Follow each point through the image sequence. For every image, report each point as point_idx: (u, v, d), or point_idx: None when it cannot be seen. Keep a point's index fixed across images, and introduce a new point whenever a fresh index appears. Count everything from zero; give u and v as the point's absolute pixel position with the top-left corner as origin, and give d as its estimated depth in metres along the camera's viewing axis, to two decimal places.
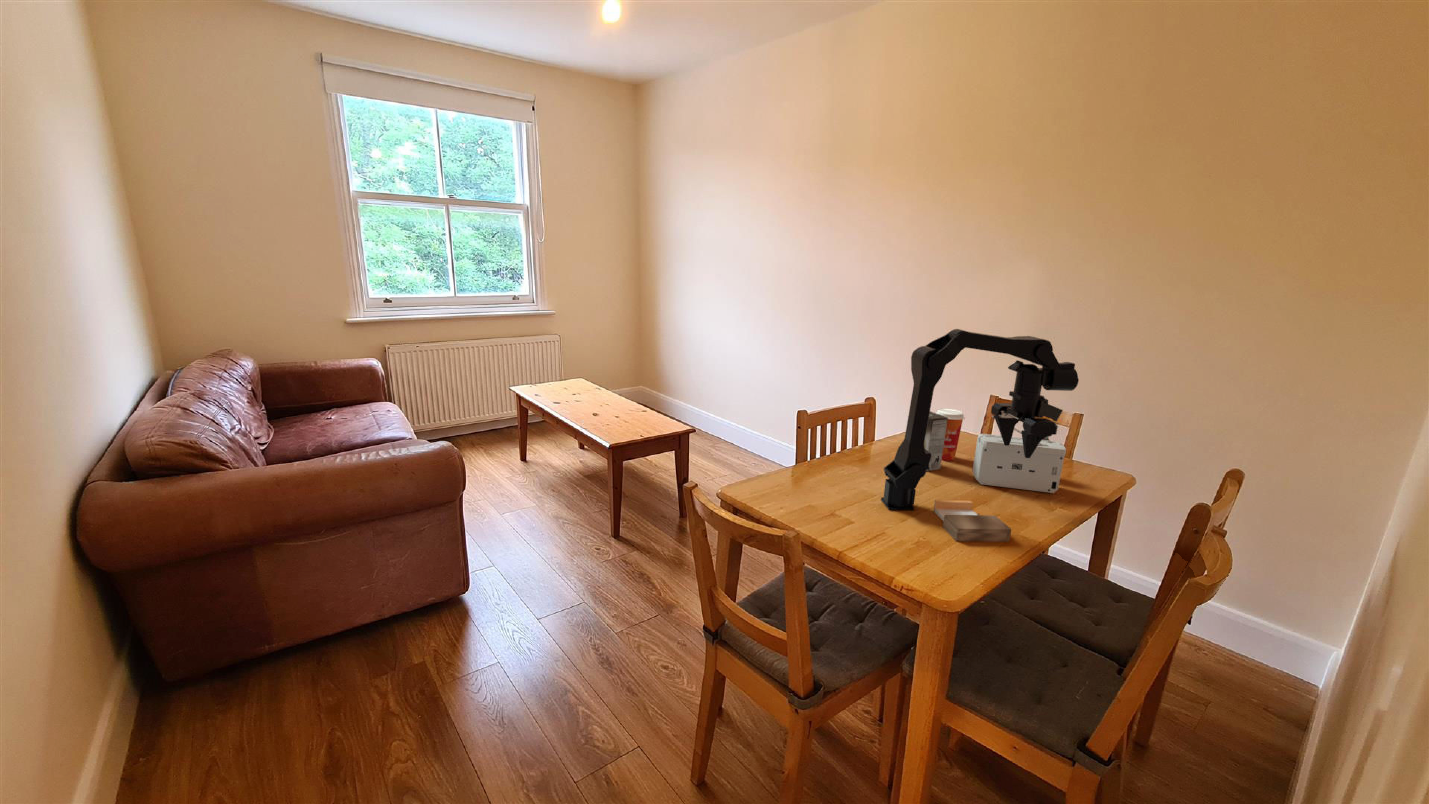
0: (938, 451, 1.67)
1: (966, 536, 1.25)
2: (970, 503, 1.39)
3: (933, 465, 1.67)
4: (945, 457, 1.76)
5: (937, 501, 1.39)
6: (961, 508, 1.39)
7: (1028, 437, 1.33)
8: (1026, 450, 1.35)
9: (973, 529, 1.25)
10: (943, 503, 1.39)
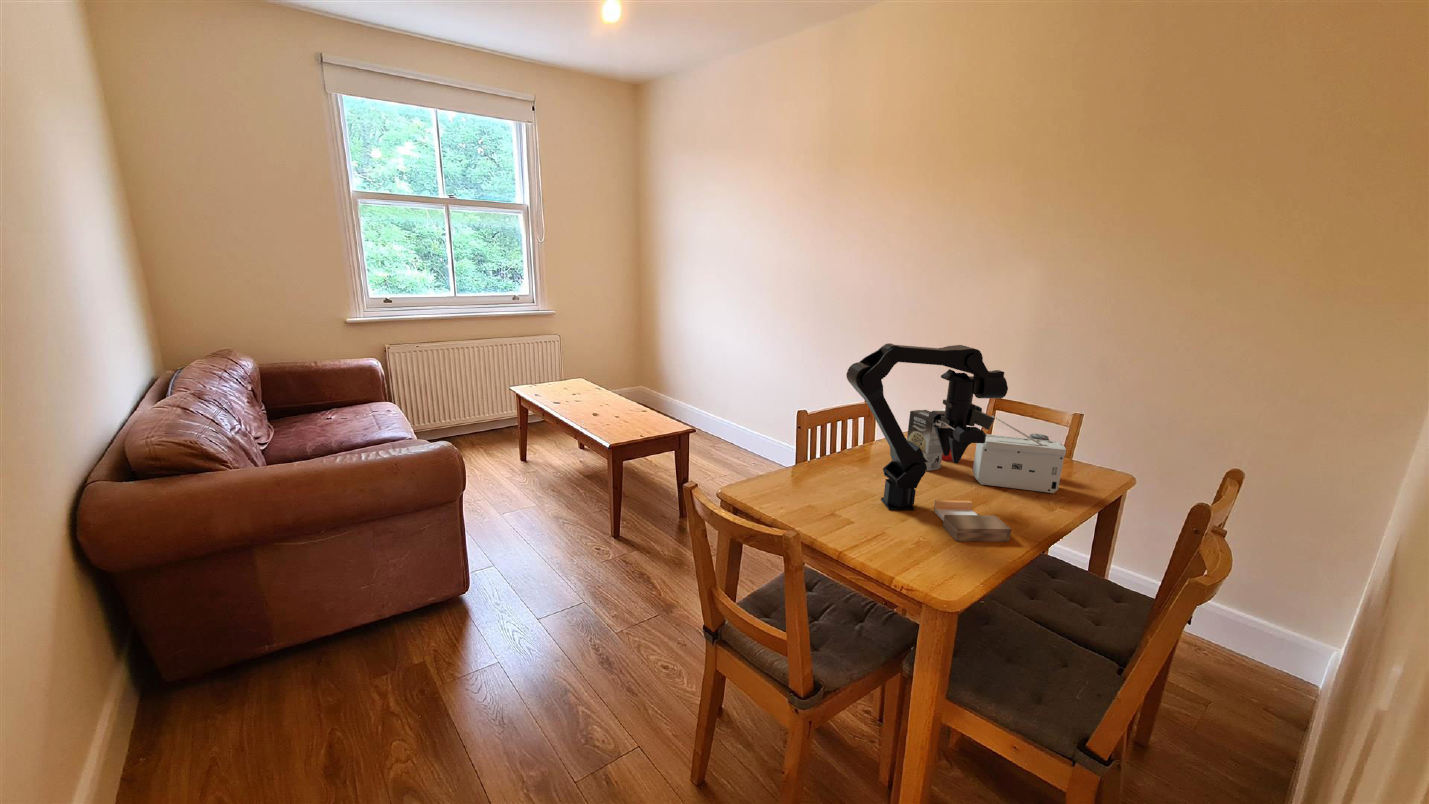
0: (938, 451, 1.67)
1: (966, 536, 1.25)
2: (970, 503, 1.39)
3: (933, 465, 1.67)
4: (945, 457, 1.76)
5: (937, 501, 1.39)
6: (961, 508, 1.39)
7: (955, 443, 1.35)
8: (954, 456, 1.37)
9: (973, 529, 1.25)
10: (943, 503, 1.39)
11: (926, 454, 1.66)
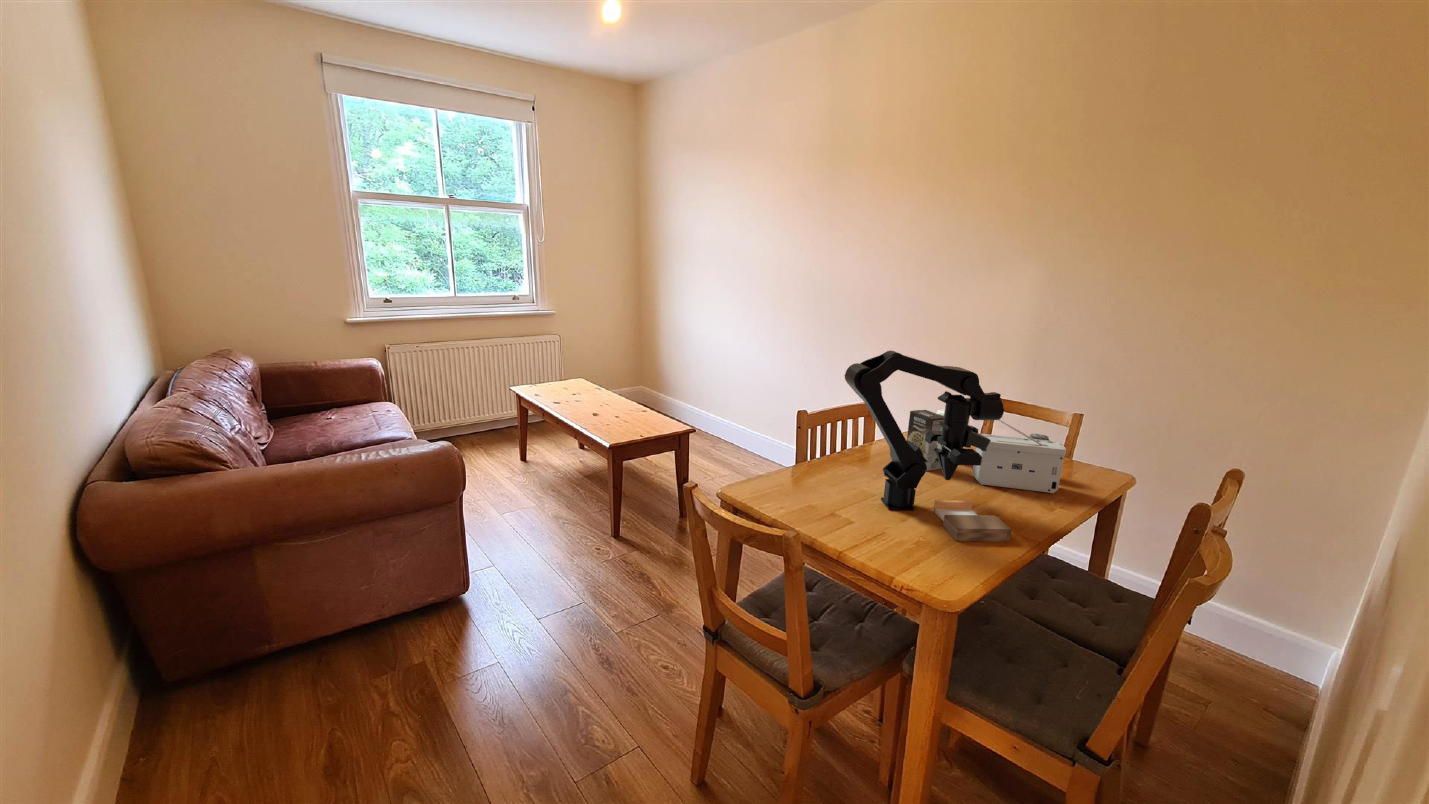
0: None
1: (966, 536, 1.25)
2: (970, 503, 1.39)
3: (933, 465, 1.67)
4: None
5: (937, 501, 1.39)
6: (961, 508, 1.39)
7: (946, 461, 1.39)
8: (945, 473, 1.41)
9: (973, 529, 1.25)
10: (943, 503, 1.39)
11: (926, 454, 1.66)
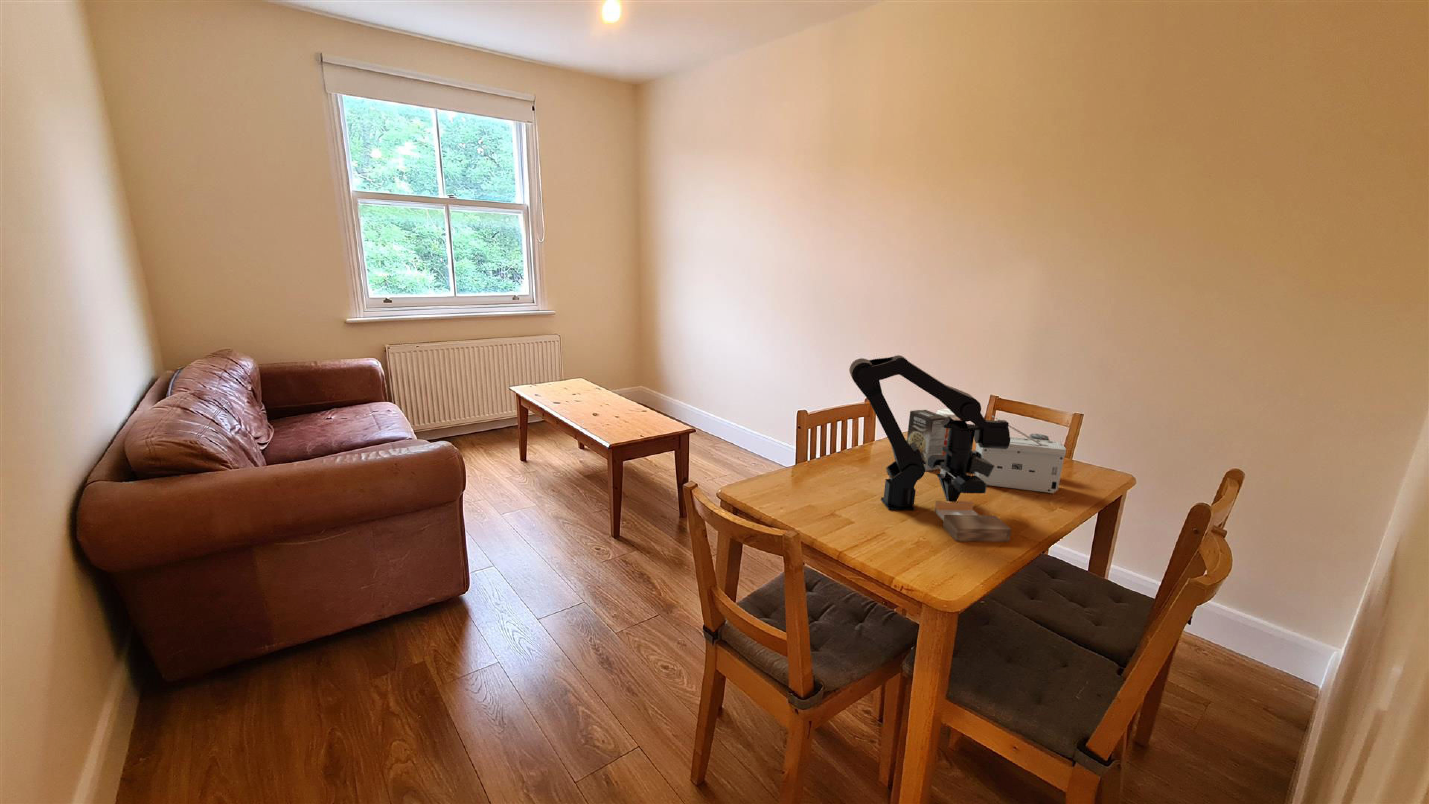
0: (938, 451, 1.67)
1: (966, 536, 1.25)
2: (971, 503, 1.39)
3: None
4: None
5: (938, 502, 1.38)
6: (962, 509, 1.39)
7: (950, 487, 1.37)
8: (949, 499, 1.39)
9: (973, 529, 1.25)
10: (944, 504, 1.38)
11: (926, 454, 1.66)
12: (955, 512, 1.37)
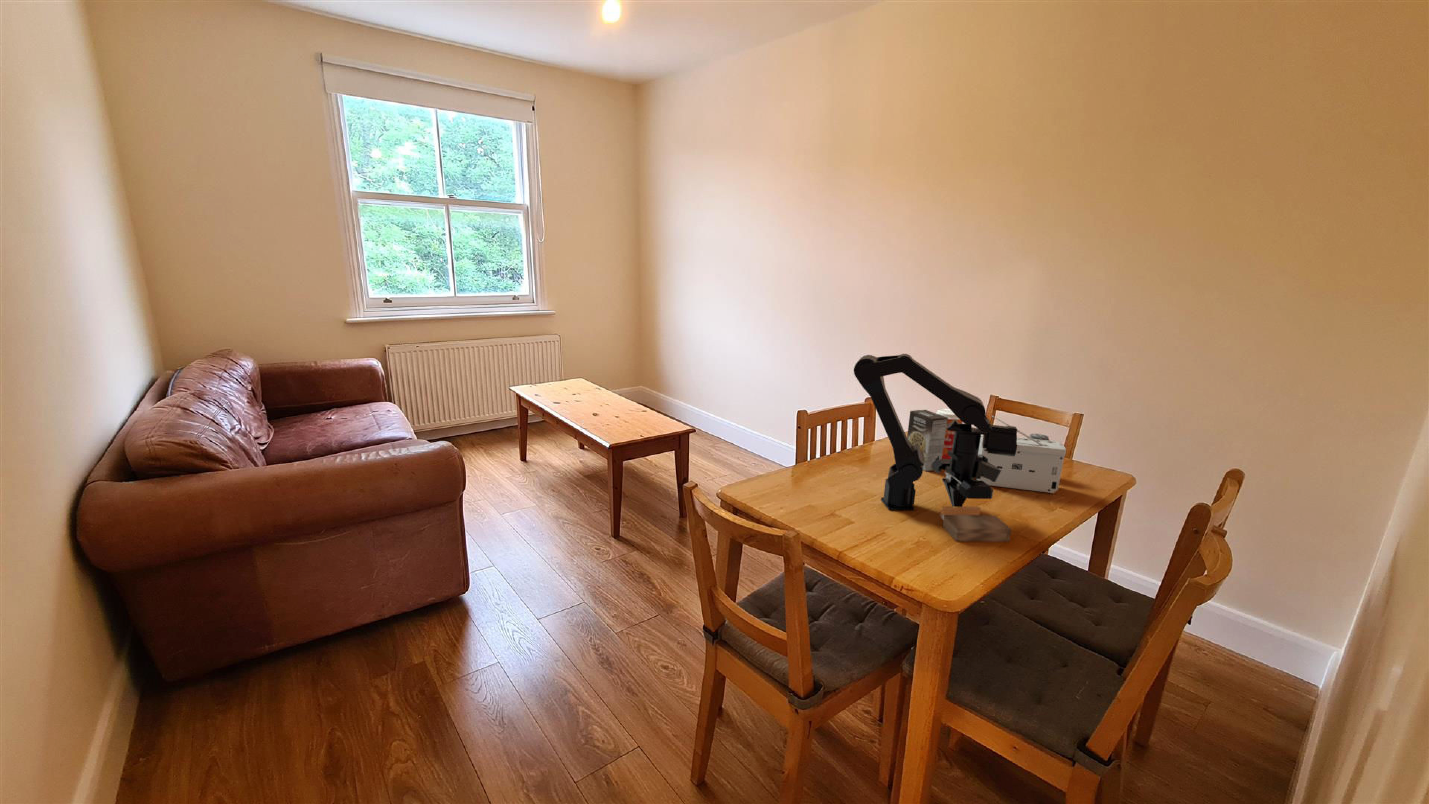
0: (938, 451, 1.67)
1: (966, 536, 1.25)
2: (978, 509, 1.36)
3: None
4: (945, 457, 1.76)
5: (944, 507, 1.36)
6: (969, 514, 1.36)
7: (955, 492, 1.34)
8: (954, 504, 1.36)
9: (973, 529, 1.25)
10: (950, 509, 1.35)
11: (926, 454, 1.66)
12: None
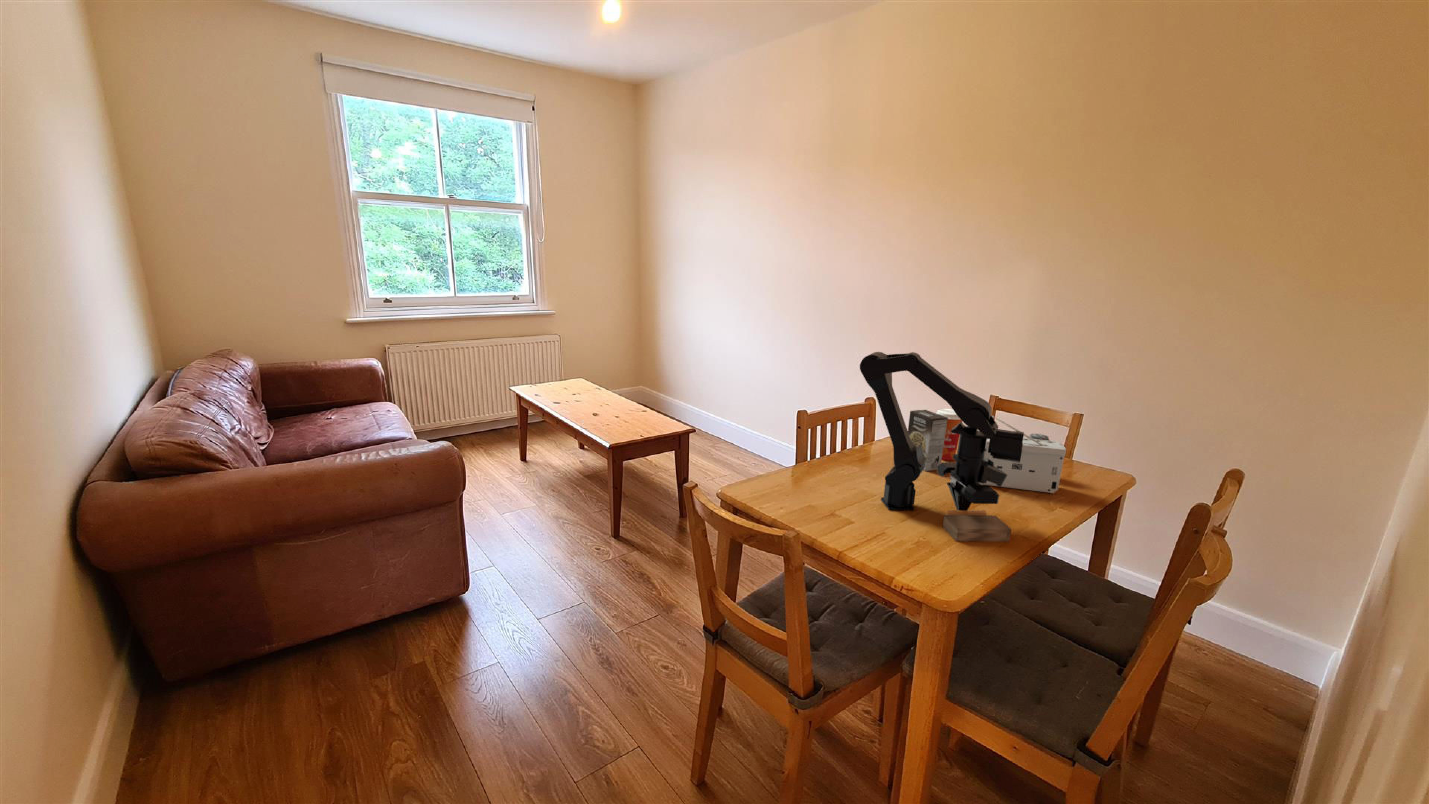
0: (938, 451, 1.67)
1: (966, 536, 1.25)
2: (984, 513, 1.33)
3: (933, 465, 1.67)
4: (945, 457, 1.76)
5: (949, 511, 1.33)
6: None
7: (960, 497, 1.32)
8: (959, 509, 1.34)
9: (973, 529, 1.25)
10: (955, 513, 1.33)
11: (926, 454, 1.66)
12: None
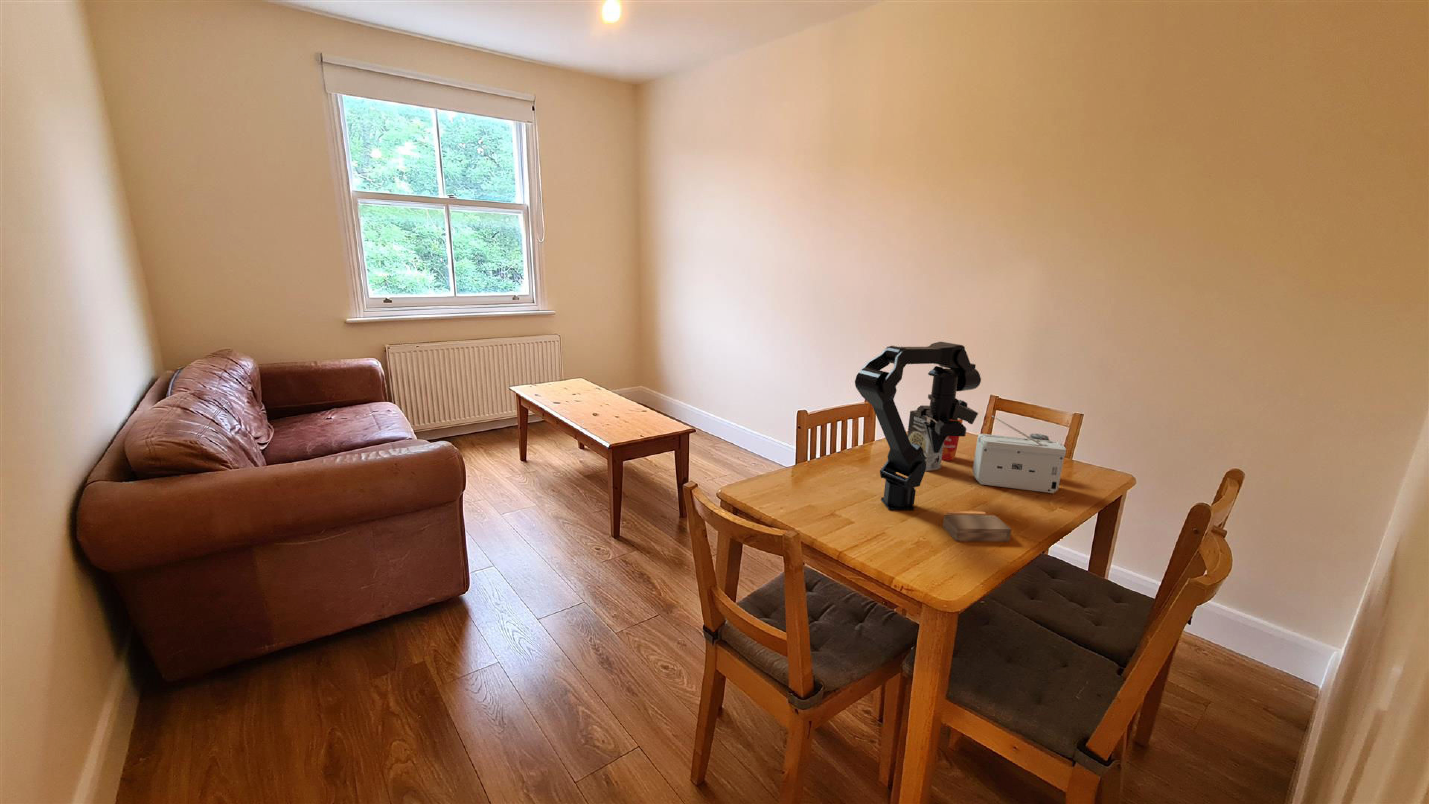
0: None
1: (966, 536, 1.25)
2: (984, 514, 1.33)
3: (933, 465, 1.67)
4: (945, 457, 1.76)
5: (949, 512, 1.33)
6: None
7: (934, 433, 1.43)
8: (933, 445, 1.44)
9: (973, 529, 1.25)
10: (955, 514, 1.33)
11: (926, 454, 1.66)
12: None
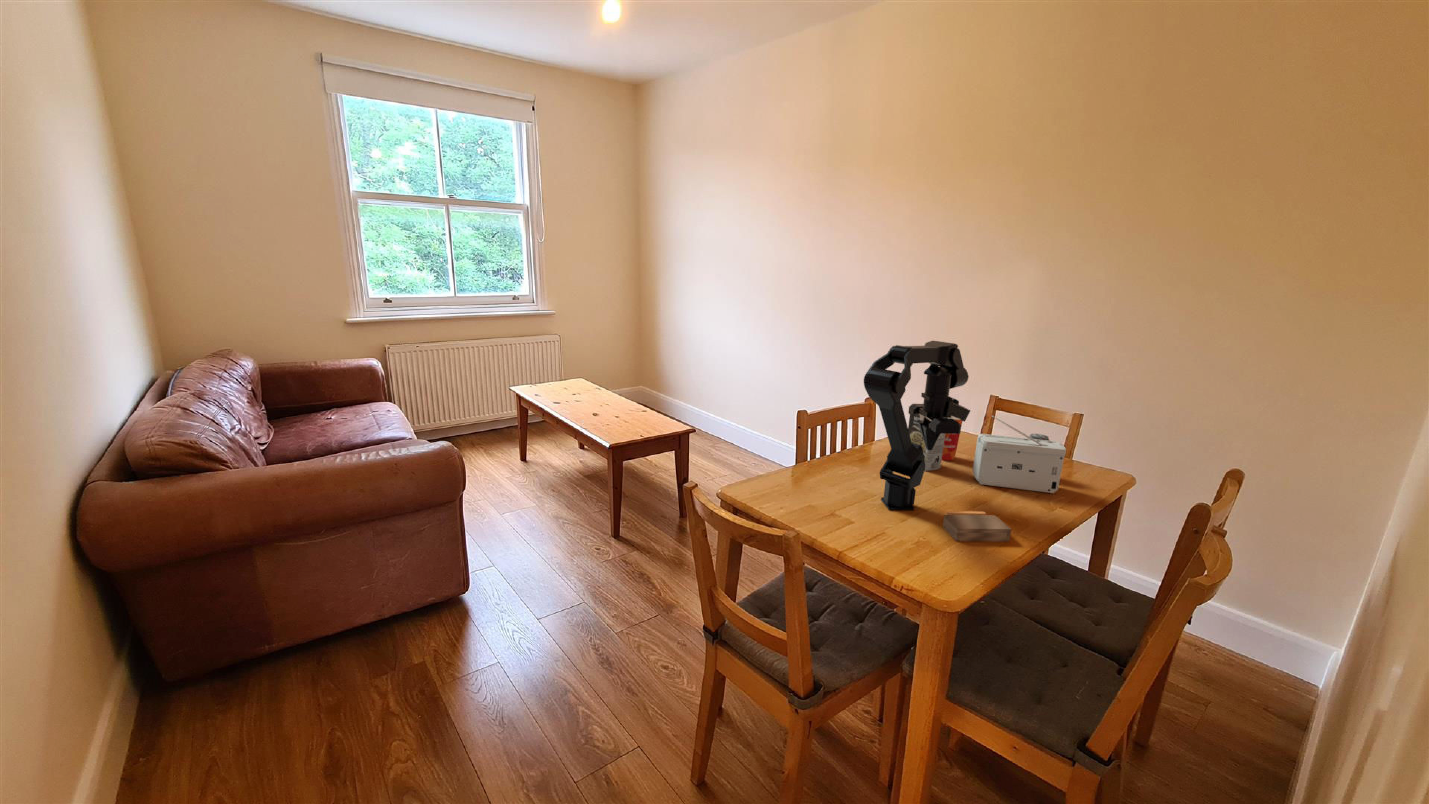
0: (938, 451, 1.67)
1: (966, 536, 1.25)
2: (983, 514, 1.33)
3: (933, 465, 1.67)
4: (945, 457, 1.76)
5: (949, 512, 1.33)
6: None
7: (928, 431, 1.44)
8: (927, 443, 1.46)
9: (973, 529, 1.25)
10: (955, 514, 1.33)
11: (926, 454, 1.66)
12: None
